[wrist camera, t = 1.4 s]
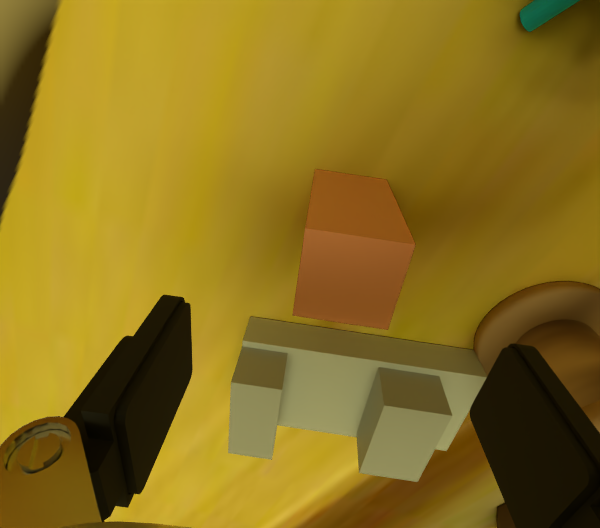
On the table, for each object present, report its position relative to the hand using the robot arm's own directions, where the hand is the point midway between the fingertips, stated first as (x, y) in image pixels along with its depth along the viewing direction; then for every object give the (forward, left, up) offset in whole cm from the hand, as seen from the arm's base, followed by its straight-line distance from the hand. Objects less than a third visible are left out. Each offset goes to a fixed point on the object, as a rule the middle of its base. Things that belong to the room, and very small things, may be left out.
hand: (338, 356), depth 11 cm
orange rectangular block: (0, 0, -12) cm, 12 cm away
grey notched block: (-3, +13, -12) cm, 18 cm away
